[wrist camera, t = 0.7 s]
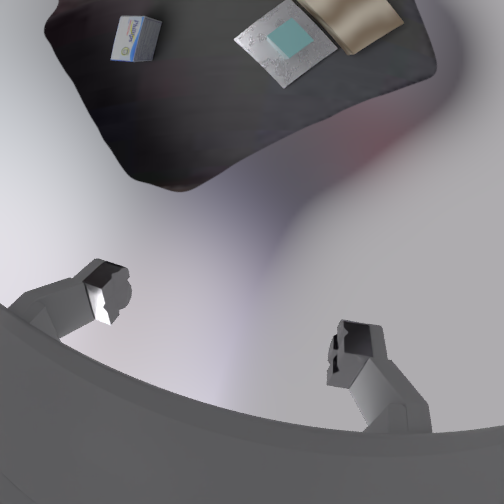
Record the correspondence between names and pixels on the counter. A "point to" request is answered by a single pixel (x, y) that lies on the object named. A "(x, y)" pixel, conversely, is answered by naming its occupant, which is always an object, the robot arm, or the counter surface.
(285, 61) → the post stand
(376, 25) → the riser block
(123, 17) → the medicine box
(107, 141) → the counter surface
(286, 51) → the teal square-faced block
